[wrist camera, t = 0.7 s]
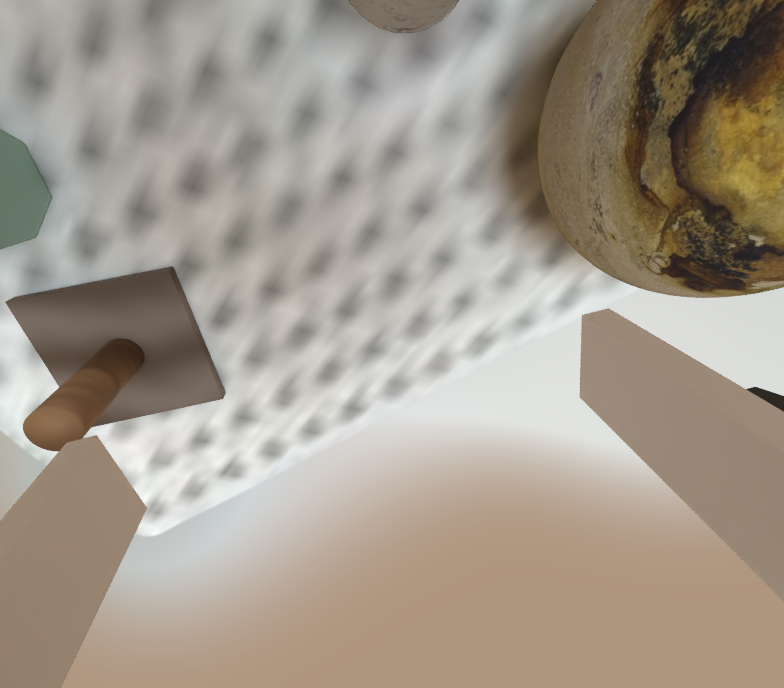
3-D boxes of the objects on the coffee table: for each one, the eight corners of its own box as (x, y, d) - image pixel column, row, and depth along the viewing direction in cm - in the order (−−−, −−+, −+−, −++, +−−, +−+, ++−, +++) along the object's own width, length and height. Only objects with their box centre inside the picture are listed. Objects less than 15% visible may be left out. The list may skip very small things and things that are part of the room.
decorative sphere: (596, -108, 26) (1190, -650, 8) (779, 66, 32) (1340, -28, 14) (445, 191, 33) (592, 250, 15) (621, 287, 39) (872, 408, 21)
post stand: (14, 297, 31) (-127, 367, 21) (172, 266, 32) (106, 321, 22) (91, 421, 37) (7, 522, 27) (225, 392, 37) (191, 481, 28)
